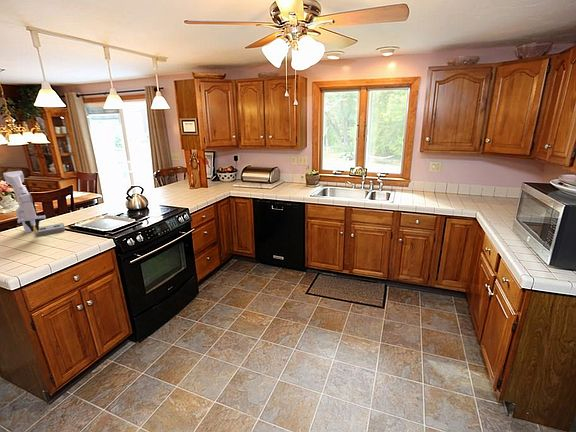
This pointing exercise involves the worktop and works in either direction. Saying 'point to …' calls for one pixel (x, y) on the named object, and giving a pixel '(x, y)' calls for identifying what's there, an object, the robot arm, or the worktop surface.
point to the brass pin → (34, 229)
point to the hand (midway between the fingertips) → (35, 230)
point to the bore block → (50, 229)
